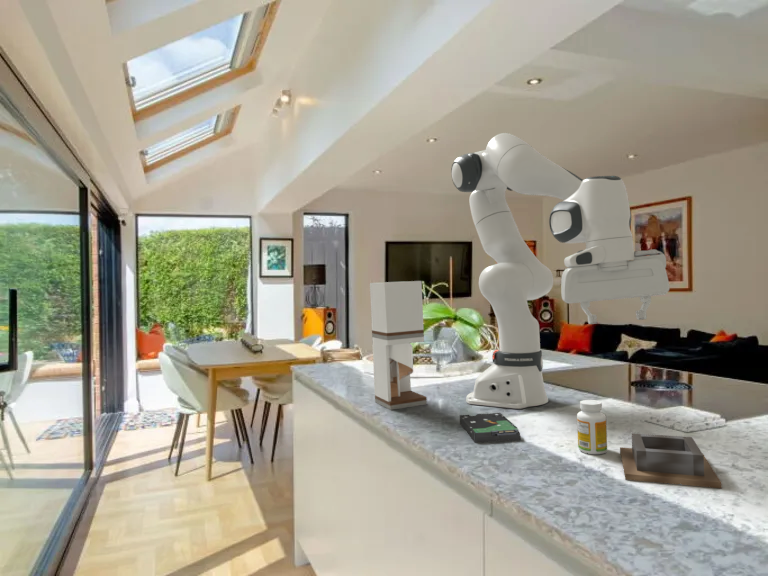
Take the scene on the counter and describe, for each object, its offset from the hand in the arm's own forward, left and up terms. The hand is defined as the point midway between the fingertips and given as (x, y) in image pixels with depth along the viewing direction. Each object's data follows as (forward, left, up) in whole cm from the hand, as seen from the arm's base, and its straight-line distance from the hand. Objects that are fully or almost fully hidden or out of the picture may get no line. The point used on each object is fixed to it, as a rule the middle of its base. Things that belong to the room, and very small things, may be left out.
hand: (617, 321), depth 104 cm
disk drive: (-28, +3, -26) cm, 38 cm away
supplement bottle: (-6, -5, -25) cm, 27 cm away
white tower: (-57, +24, -25) cm, 67 cm away
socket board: (+6, -12, -25) cm, 29 cm away
